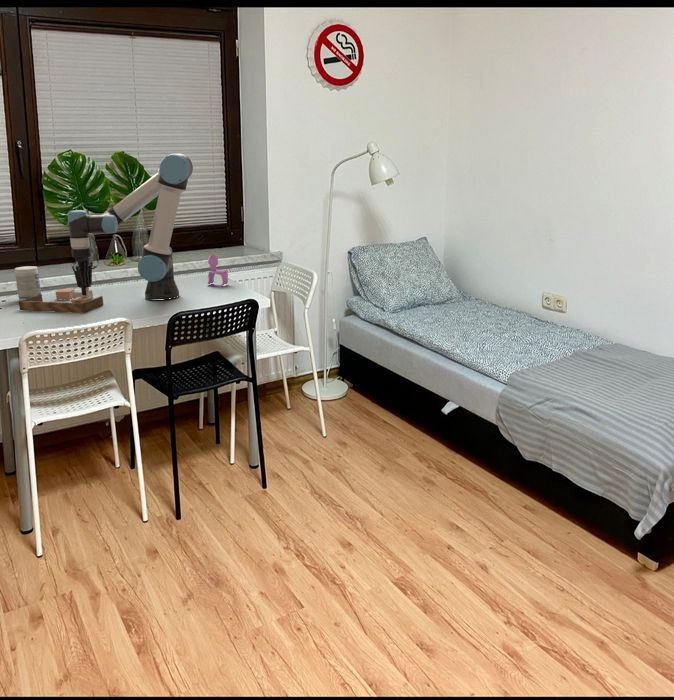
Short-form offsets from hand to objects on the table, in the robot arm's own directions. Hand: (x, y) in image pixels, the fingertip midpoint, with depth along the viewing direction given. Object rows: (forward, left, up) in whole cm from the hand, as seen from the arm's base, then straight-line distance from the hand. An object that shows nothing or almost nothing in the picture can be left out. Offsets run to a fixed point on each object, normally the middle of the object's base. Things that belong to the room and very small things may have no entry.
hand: (86, 302), depth 299 cm
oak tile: (0, +4, -2) cm, 4 cm away
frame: (+8, +6, -2) cm, 10 cm away
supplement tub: (+31, -6, -2) cm, 32 cm away
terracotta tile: (+17, -11, -2) cm, 20 cm away
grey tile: (+8, -11, -2) cm, 14 cm away
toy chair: (-42, -49, -2) cm, 65 cm away
